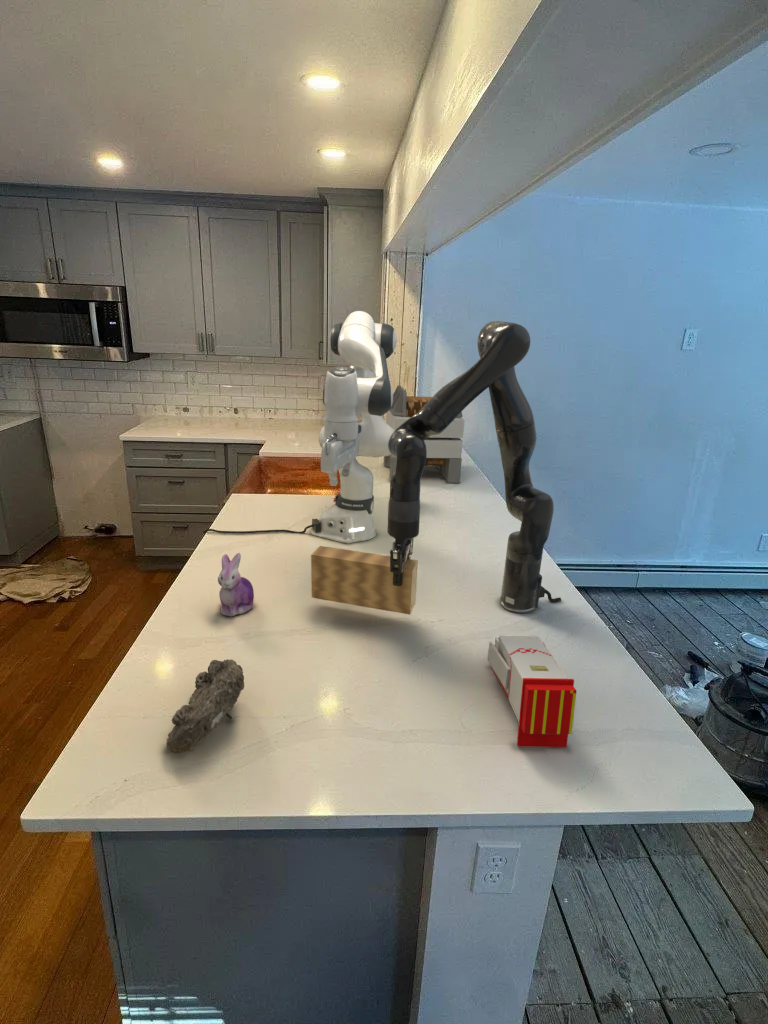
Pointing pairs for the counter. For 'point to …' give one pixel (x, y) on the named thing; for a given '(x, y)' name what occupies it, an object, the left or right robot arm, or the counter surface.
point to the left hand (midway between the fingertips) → (339, 480)
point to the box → (362, 580)
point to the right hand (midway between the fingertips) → (400, 579)
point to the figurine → (234, 588)
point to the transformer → (439, 447)
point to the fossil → (206, 705)
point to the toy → (534, 690)
